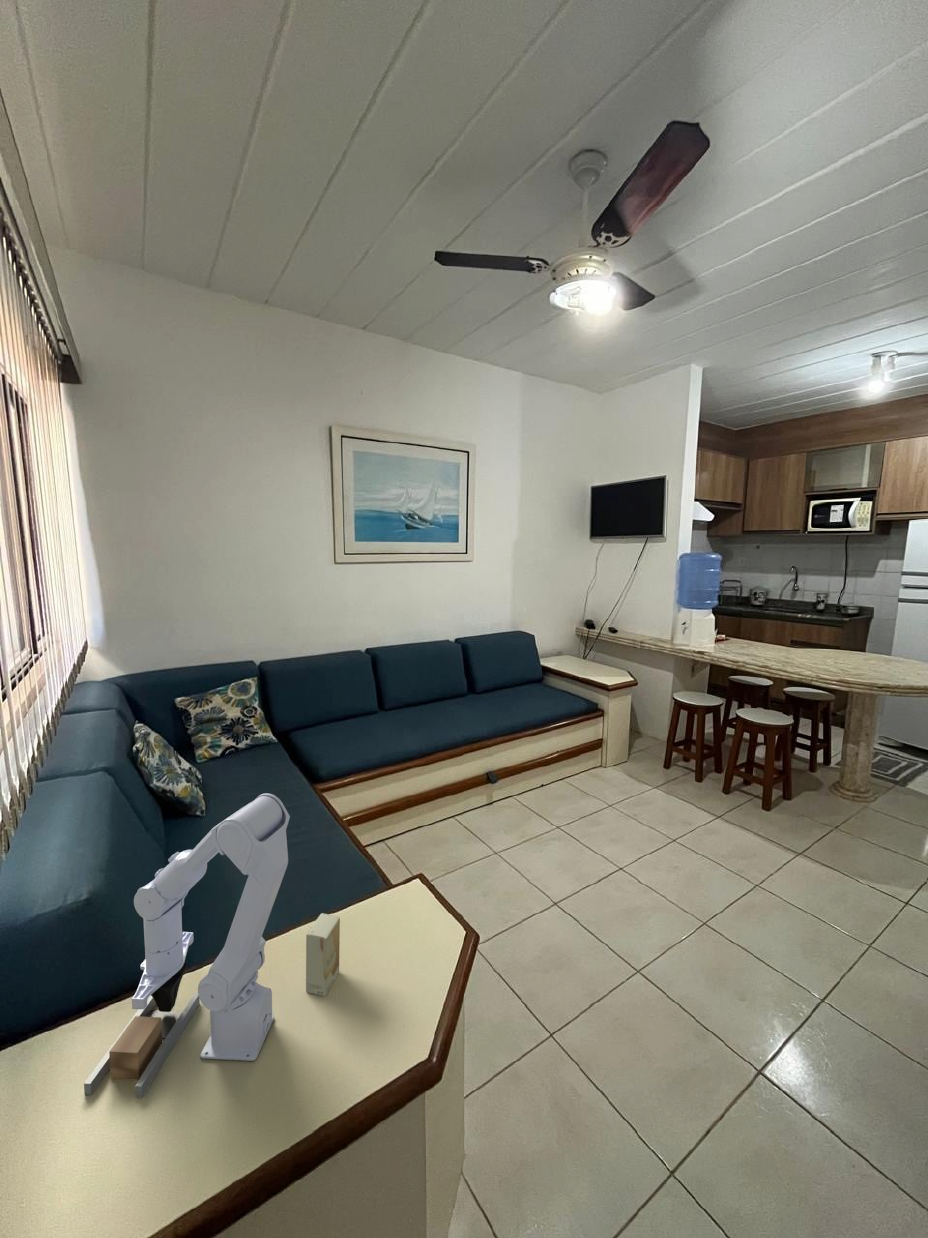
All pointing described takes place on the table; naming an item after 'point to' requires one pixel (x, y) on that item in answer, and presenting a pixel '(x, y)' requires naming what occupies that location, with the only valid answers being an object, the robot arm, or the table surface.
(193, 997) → the channel
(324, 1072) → the table surface
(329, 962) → the skincare box
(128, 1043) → the walnut block
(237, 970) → the robot arm
